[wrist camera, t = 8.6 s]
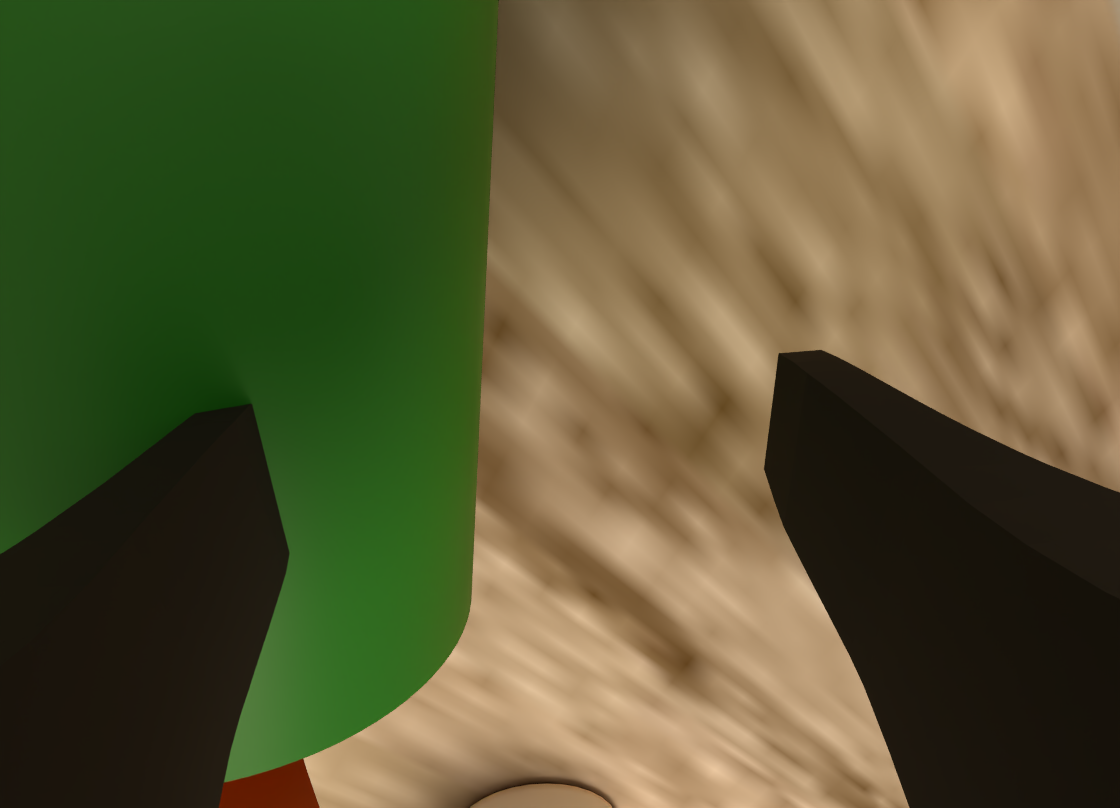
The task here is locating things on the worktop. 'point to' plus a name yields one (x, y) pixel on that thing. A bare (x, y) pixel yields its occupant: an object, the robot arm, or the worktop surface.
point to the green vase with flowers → (262, 308)
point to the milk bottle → (543, 797)
